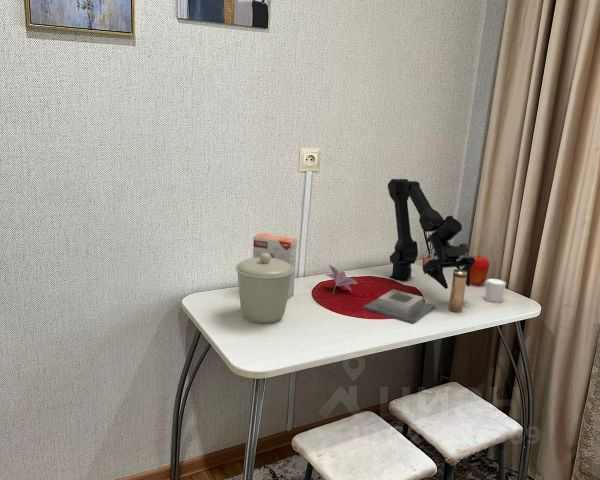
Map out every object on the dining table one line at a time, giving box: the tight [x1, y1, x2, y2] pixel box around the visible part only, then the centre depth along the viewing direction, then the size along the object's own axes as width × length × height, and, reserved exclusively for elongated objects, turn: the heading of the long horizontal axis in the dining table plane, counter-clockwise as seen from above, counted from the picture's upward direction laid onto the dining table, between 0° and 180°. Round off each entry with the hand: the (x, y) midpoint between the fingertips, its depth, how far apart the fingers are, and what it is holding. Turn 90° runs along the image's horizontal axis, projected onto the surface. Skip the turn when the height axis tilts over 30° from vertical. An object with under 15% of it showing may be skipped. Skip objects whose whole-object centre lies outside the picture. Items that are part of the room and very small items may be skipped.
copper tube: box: [448, 268, 467, 314], centre depth 195 cm, size 4×4×14 cm
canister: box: [234, 253, 294, 324], centre depth 179 cm, size 18×18×21 cm
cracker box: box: [252, 232, 298, 301], centre depth 199 cm, size 14×6×21 cm, turn 68°
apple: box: [470, 254, 490, 286], centre depth 224 cm, size 9×8×12 cm
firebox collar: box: [363, 288, 436, 325], centre depth 195 cm, size 18×18×4 cm
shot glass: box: [484, 278, 507, 303], centre depth 208 cm, size 7×7×7 cm
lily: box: [325, 264, 358, 295], centre depth 207 cm, size 12×12×10 cm
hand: (458, 287), depth 195 cm, fingers open, 9 cm apart
